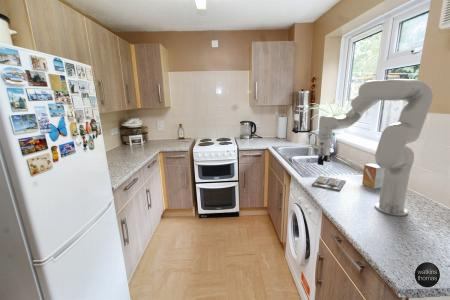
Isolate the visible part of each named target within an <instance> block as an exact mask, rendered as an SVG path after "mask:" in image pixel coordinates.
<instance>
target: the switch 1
mask: <svg viewBox="0 0 450 300" xmlns="http://www.w3.org/2000/svg"><path fill="white" fill-rule="evenodd" d="M318 177H319V182H318V184H324V177H325V175H323V174H320V175H319V176H318Z"/></svg>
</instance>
